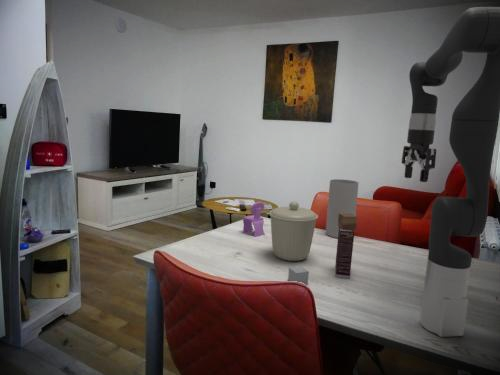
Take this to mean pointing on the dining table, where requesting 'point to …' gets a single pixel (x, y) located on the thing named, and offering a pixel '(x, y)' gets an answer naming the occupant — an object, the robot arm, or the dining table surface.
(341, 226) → the walnut cube
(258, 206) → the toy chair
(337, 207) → the cylinder vase
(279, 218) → the canister
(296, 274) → the slate cube
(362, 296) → the dining table surface
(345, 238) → the supplement box
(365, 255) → the dining table surface
